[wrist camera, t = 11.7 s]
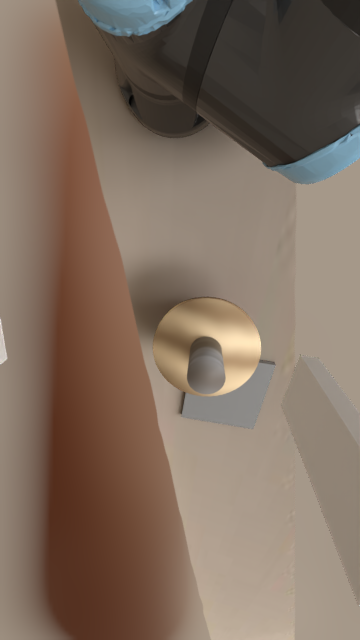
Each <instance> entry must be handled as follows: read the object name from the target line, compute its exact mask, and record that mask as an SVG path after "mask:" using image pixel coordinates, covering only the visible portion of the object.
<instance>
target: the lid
mask: <svg viewBox="0 0 360 640" xmlns="http://www.w3.org/2000/svg"><path fill="white" fill-rule="evenodd" d="M153 355H154V359H155V362H156V365H157V367H158V369H159V371H160V372H161V374H162V375H163V376H164V378H165V379H166V380H167V381H168V382H169V383H171V384H172V385H173V386H175V387H176V388H178V389H179V390H181V391H184V392H186V393H189V394H192V395H196V396H218V395H223V394H226V393H229V392H231V391H233V390H235V389H237V388H239V387H240V386H241V385H243V384H244V383H245V382H246V381H247V380H248V379H249V378H250V377H251V376H252V374H253V373H254V371H255V369H256V367H257V365H258V363H259V359H260V355H261V342H260V337H259V334H258V331H257V329H256V327H255V325H254V323H253V321H252V320H251V318H250V317H249V316H248V315H247V314H246V313H245V312H244V311H243V310H242V309H241V308H239V307H238V306H237V305H235V304H233V303H231V302H229V301H226V300H224V299H220V298H214V297H199V298H193V299H189V300H186V301H184V302H182V303H180V304H178V305H176V306H175V307H173V308H172V309H171V310H170V311H169V312H168V313H167V314H166V315H165V316H164V317H163V319H162V320H161V322H160V323H159V325H158V327H157V329H156V332H155V335H154V340H153Z"/></svg>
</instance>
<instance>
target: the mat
mask: <svg viewBox="0 0 360 640" xmlns="http://www.w3.org/2000/svg"><path fill="white" fill-rule="evenodd" d="M275 366H276V365H275V363H274V362H269V361H263V360H259V363H258V365H257V367H256V369H255V371H254V373H253V374H252V376H251V377H250V378H249V379H248V380H247V381H246V382H245V383H244V384H243V385H241V386H240V387H239V388H237V389H235V390H233V391H231V392H229V393H226V394H223V395H218V396H196V395H192V394H189V393H186V394H185V399H184V404H183V410H182V416H181V417H184V418H190V419H196V420H202V421H207V422H213V423H219V424H225V425H231V426H237V427H243V428H249V429H254V426H255V423H256V420H257V417H258V414H259V411H260V409H261V406H262V403H263V400H264V397H265V394H266V391H267V388H268V386H269V383H270V380H271V377H272V374H273V371H274V368H275Z"/></svg>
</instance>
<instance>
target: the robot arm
mask: <svg viewBox="0 0 360 640" xmlns="http://www.w3.org/2000/svg"><path fill="white" fill-rule="evenodd" d="M78 2H79V4H80V6H82V8H83V10H84V12H85V14H86V15H88V16H89V17H90V18H91V20H92V22H93V23H94V25H95V26H96V28H97V30H98V31H99V33H100V34H101V36H102V38H103V39H104V41H105V42H106V44H107V46H108V47H109V49H110V50H111V52H112V54H113V55H114V57H115V69H116V75H117V79H118V83H119V86H120V89H121V92H122V95H123V97H124V99H125V101H126V103H127V105H128V106H129V108H130V109H131V111H132V112H133V113H134V115H135V116H136V117H137V119H138V120H139V121H140V122H141V123H142V124H143V125H144V126H145V127H147V128H148V129H149V130H151V131H153V132H154V133H156V134H159V135H161V136H165V137H170V138H181V137H186V136H189V135H192V134H194V133H197V132H198V131H200V130H202V129H203V128H204V127H206V126H207V125H208V124H209V123H211V124H212V125H214V126H215V127H216V128H218V129H219V130H220V131H222V132H223V133H224V134H226V135H227V136H228V137H230V138H231V139H233V140H234V141H235V142H237V143H238V144H239V145H241V146H242V147H243V148H245V149H246V150H247V151H249V152H250V153H252V154H253V155H254V156H256V157H257V158H258V159H260V160H261V161H262V162H263V164H264V166H265V167H266V168H268V169H271V170H273V171H277V172H279V173H280V174H282V175H283V176H285V177H286V178H288V179H289V180H291V181H293V182H295V183H300V184H311V183H316V182H319V181H322V180H324V179H327V178H329V177H331V176H333V175H335V174H336V173H338V172H340V171H341V170H343V169H345V168H346V167H348V166H349V165H350V164H352V163H353V162H355V161H356V160H358V159H359V158H360V0H78ZM6 360H7V354H6V348H5V342H4V337H3V331H2V325H1V319H0V364H2V363H3V362H4V361H6ZM281 406H282V409H283V411H284V414H285V417H286V419H287V422H288V424H289V427H290V430H291V432H292V435H293V437H294V440H295V443H296V445H297V448H298V450H299V453H300V456H301V458H302V461H303V463H304V466H305V469H306V471H307V474H308V476H309V479H310V482H311V484H312V487H313V489H314V492H315V495H316V497H317V500H318V502H319V505H320V508H321V510H322V513H323V516H324V518H325V521H326V523H327V526H328V528H329V531H330V534H331V536H332V539H333V542H334V544H335V547H336V549H337V552H338V555H339V557H340V560H341V562H342V565H343V567H344V570H345V573H346V575H347V578H348V581H349V583H350V586H351V588H352V591H353V594H354V596H355V599H356V601H357V604H358V606H360V413H359V411H358V410H357V409H356V407H355V406H354V405H353V403H352V402H351V401H350V399H349V398H348V397H347V396H346V394H345V393H344V391H343V390H342V389H341V387H340V386H339V385H338V383H337V382H336V381H335V379H334V378H333V377H332V375H331V374H330V373H329V372H328V370H327V369H326V367H325V366H324V364H323V363H322V362H321V361H320V359H319V358H316V357H310V356H304V355H300V357H299V360H298V362H297V365H296V367H295V370H294V373H293V375H292V378H291V380H290V383H289V385H288V388H287V391H286V393H285V396H284V398H283V401H282V403H281Z"/></svg>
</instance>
